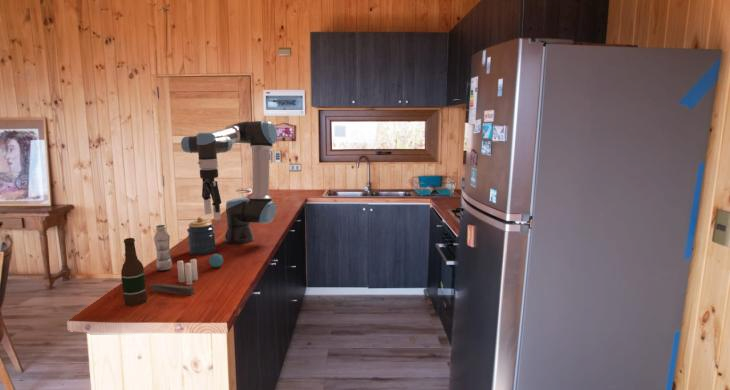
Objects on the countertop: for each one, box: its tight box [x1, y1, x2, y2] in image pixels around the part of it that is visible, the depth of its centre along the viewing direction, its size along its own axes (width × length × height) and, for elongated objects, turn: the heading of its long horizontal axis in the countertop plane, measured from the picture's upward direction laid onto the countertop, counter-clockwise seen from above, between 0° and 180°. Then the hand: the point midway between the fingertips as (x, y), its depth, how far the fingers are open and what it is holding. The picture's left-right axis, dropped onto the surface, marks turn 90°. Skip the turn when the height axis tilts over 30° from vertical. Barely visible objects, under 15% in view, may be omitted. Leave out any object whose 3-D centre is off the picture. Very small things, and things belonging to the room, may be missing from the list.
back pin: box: [176, 260, 186, 283], centre depth 182 cm, size 2×2×8 cm
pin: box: [183, 262, 193, 286], centre depth 179 cm, size 2×2×8 cm
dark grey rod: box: [150, 282, 195, 296], centre depth 171 cm, size 2×18×2 cm, turn 75°
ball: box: [208, 253, 224, 268], centre depth 199 cm, size 6×6×6 cm
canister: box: [186, 216, 217, 256], centre depth 223 cm, size 13×13×18 cm
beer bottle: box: [120, 237, 147, 307], centre depth 160 cm, size 8×8×24 cm
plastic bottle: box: [153, 224, 173, 271], centre depth 196 cm, size 6×7×20 cm
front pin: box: [189, 258, 199, 282], centre depth 184 cm, size 2×2×8 cm
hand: (212, 216), depth 195 cm, fingers open, 13 cm apart
